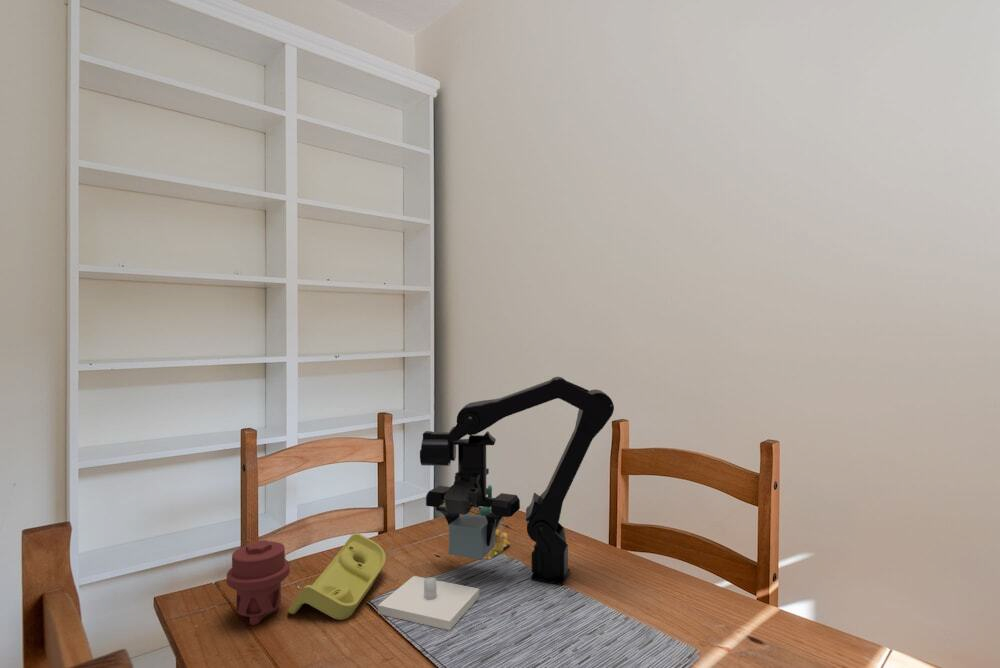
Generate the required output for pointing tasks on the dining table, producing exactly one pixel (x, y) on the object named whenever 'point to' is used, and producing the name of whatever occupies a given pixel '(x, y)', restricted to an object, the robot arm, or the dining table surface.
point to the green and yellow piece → (500, 538)
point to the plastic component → (344, 579)
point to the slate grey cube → (469, 537)
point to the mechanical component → (258, 578)
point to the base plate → (429, 602)
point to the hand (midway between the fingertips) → (472, 542)
